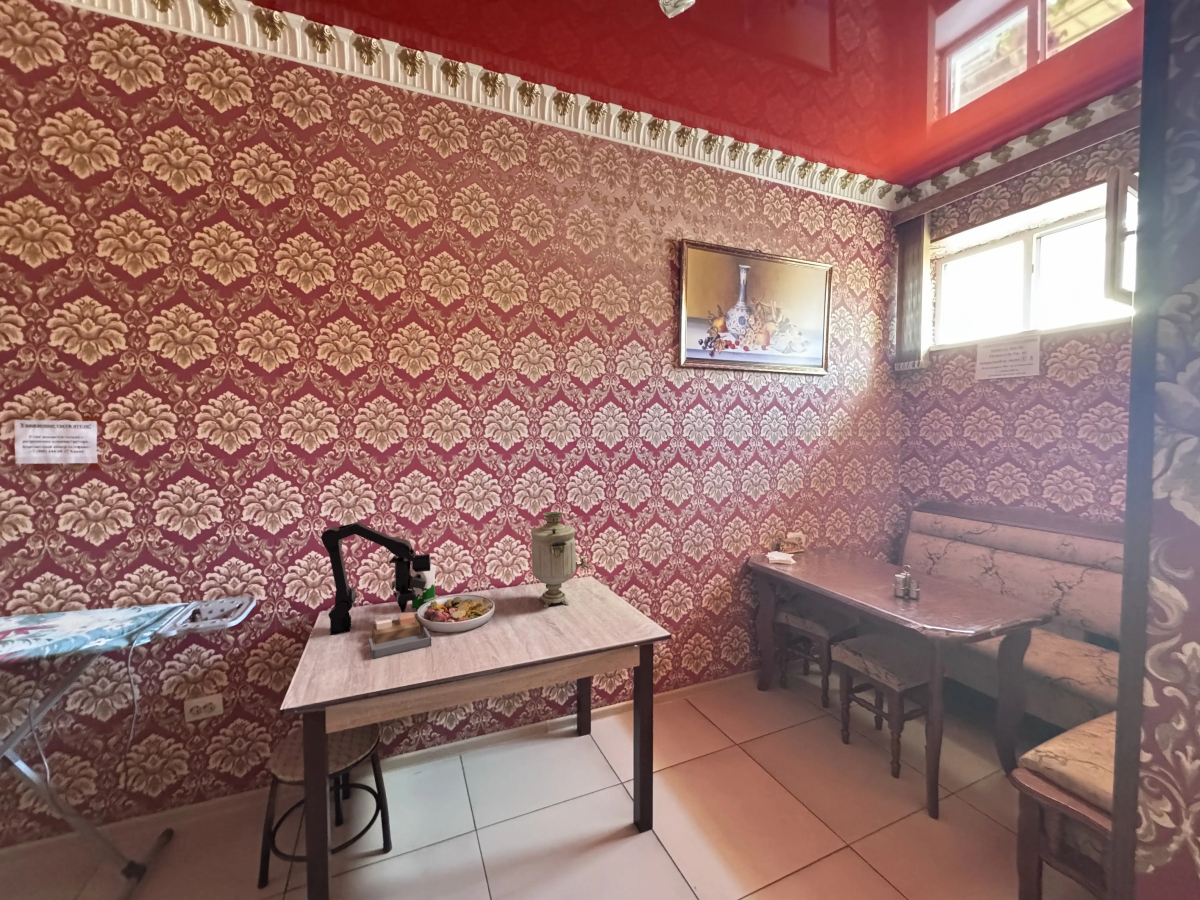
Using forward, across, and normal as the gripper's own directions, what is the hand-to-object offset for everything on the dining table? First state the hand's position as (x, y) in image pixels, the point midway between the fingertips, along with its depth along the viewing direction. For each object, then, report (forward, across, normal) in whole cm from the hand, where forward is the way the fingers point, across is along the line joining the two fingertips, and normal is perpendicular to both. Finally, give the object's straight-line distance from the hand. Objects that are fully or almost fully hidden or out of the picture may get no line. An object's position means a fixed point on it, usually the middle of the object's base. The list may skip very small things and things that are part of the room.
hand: (403, 611), depth 184 cm
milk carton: (+5, +13, -10) cm, 18 cm away
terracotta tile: (+1, -8, 0) cm, 8 cm away
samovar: (+5, -10, -64) cm, 65 cm away
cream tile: (+1, -8, +8) cm, 11 cm away
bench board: (+5, -9, +4) cm, 11 cm away
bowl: (+5, -5, -20) cm, 21 cm away
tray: (+5, -19, +4) cm, 20 cm away
